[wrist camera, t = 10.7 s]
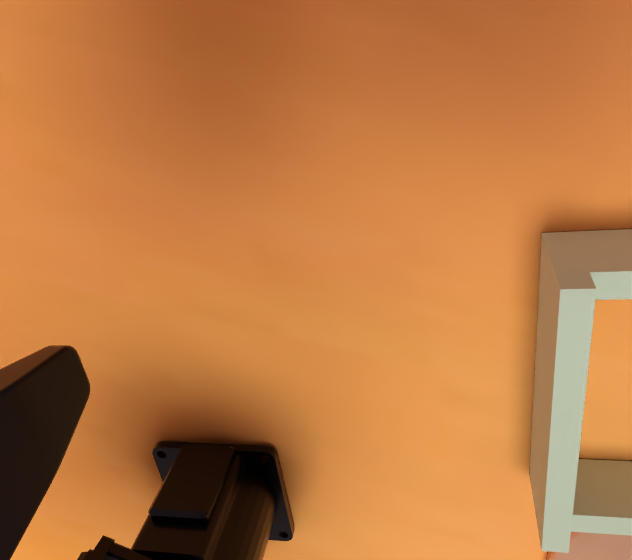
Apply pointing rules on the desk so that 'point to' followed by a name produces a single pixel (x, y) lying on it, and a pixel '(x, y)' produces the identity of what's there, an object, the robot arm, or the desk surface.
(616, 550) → the terracotta saucer
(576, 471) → the pale grey rectangular frame
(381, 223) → the desk surface
